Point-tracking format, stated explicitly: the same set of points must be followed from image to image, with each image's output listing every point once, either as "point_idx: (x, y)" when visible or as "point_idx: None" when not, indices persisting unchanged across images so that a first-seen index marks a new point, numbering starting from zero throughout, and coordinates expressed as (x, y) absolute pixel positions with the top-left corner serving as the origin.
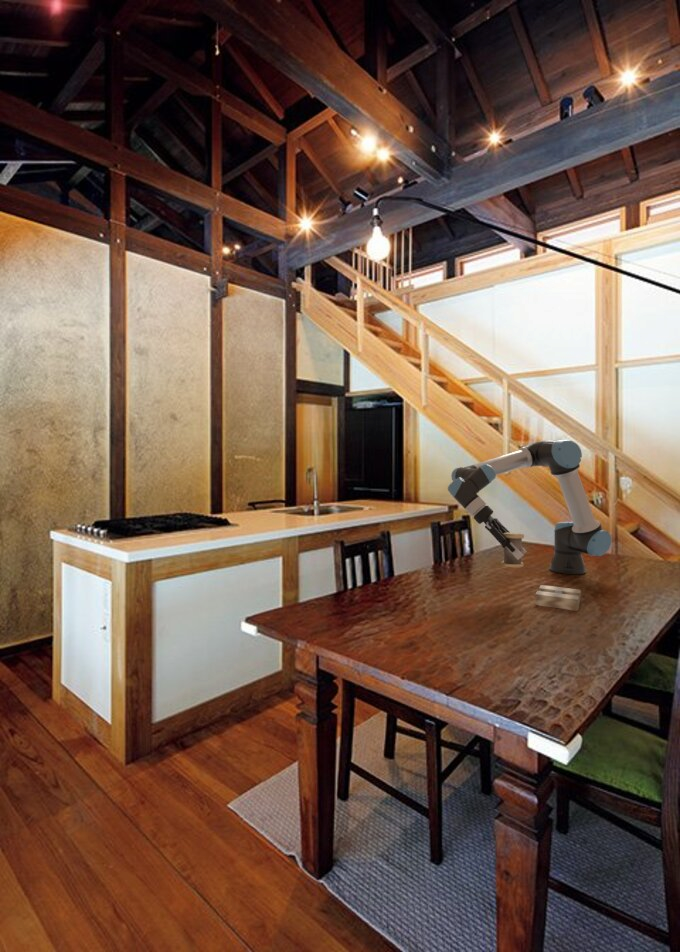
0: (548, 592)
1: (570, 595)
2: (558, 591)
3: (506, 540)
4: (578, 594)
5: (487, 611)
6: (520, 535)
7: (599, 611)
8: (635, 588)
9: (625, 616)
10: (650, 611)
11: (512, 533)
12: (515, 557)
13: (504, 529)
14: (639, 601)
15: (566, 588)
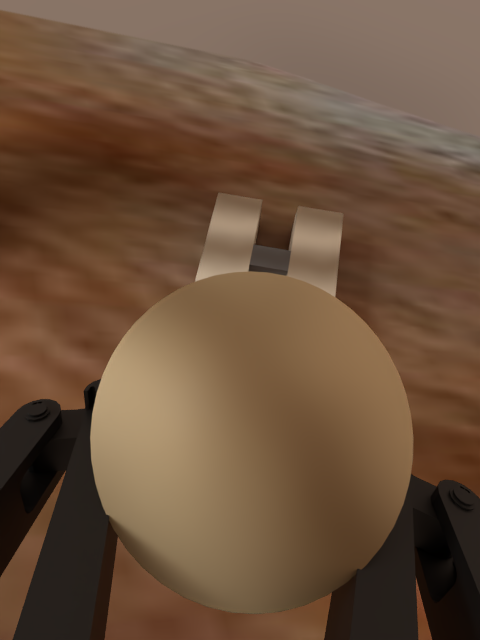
0: None
1: (301, 227)
2: (263, 256)
3: (471, 505)
4: (261, 205)
5: None
6: (326, 314)
7: (306, 187)
8: (52, 80)
9: (325, 143)
10: (261, 93)
11: (187, 420)
12: None
13: (43, 587)
14: (180, 95)
15: (214, 229)
